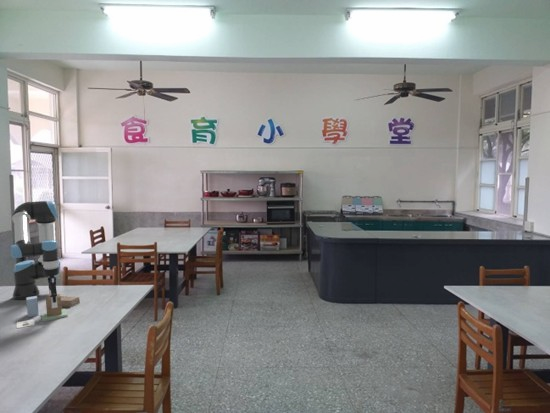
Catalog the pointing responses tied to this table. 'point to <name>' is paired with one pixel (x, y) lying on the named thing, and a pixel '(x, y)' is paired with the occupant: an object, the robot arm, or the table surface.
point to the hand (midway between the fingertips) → (53, 304)
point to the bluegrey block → (32, 306)
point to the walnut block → (51, 310)
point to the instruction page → (25, 323)
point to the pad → (46, 318)
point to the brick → (69, 301)
